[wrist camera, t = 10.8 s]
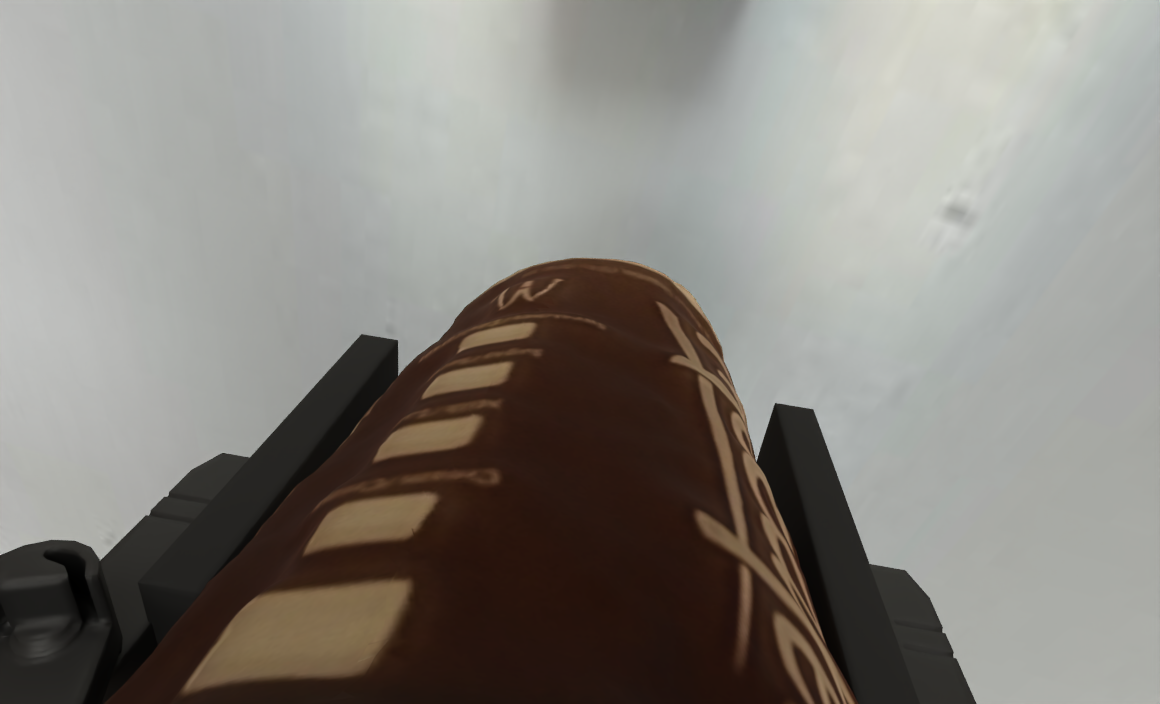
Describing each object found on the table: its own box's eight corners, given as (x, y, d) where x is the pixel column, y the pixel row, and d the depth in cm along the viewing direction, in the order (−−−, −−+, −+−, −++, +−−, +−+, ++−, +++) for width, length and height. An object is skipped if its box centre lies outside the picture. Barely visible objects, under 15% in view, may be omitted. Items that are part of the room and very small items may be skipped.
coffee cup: (567, 574, 18) (407, 1547, 7) (331, 367, 16) (-525, 1317, 4) (853, 406, 15) (1501, 1789, 3) (606, 111, 12) (-16, 1331, 1)
